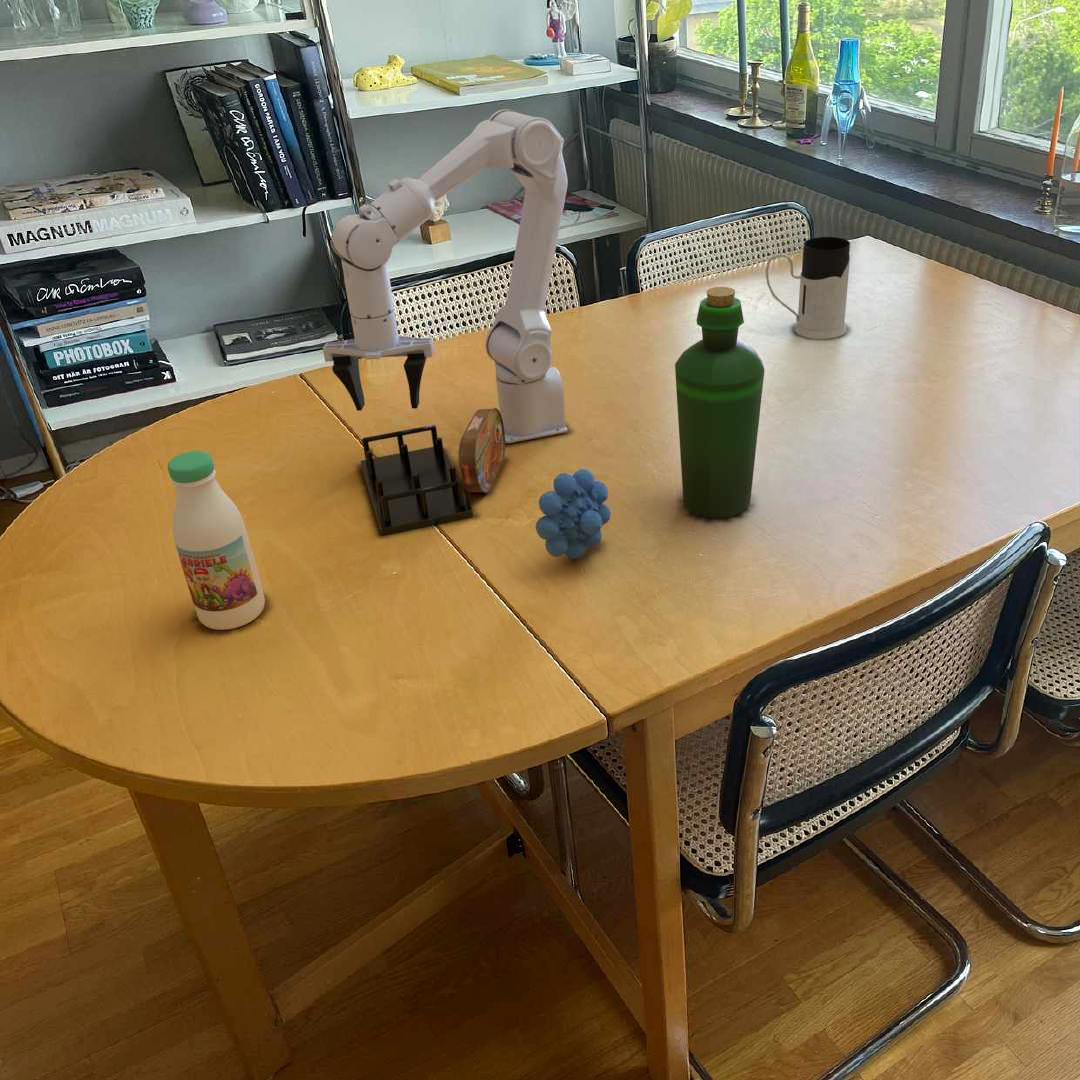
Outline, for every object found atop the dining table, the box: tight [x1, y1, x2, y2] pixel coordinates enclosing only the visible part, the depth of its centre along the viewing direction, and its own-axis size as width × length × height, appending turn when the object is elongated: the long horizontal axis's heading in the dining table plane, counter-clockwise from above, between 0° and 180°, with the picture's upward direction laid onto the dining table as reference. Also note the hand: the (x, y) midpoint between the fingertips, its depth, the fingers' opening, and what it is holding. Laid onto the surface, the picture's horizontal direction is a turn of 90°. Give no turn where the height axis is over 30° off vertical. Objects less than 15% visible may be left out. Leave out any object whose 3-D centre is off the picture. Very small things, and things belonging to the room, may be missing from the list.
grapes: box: [535, 468, 611, 560], centre depth 121 cm, size 12×7×12 cm, turn 135°
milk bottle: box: [167, 450, 266, 631], centre depth 115 cm, size 8×8×20 cm
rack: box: [360, 424, 474, 536], centre depth 140 cm, size 12×20×5 cm, turn 16°
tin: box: [458, 407, 506, 494], centre depth 141 cm, size 15×3×8 cm, turn 168°
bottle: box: [674, 286, 765, 518], centre depth 125 cm, size 11×11×28 cm
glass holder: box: [765, 236, 851, 340], centre depth 175 cm, size 9×14×15 cm, turn 89°
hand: (388, 406), depth 142 cm, fingers open, 7 cm apart
